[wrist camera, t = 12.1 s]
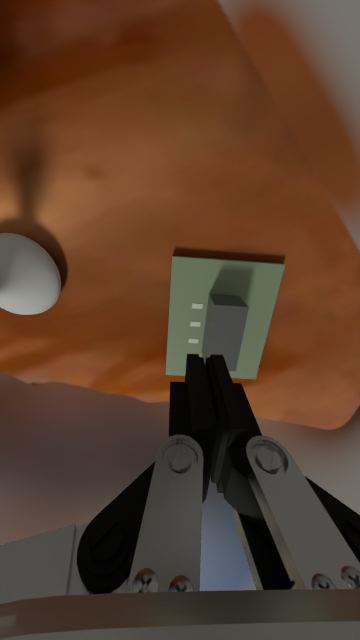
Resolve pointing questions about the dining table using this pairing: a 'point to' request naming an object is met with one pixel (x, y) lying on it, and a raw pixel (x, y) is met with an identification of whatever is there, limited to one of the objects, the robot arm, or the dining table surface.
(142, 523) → the robot arm
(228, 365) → the plug housing
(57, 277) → the flower in vase
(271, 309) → the board
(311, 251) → the dining table surface
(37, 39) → the dining table surface
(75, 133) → the dining table surface
